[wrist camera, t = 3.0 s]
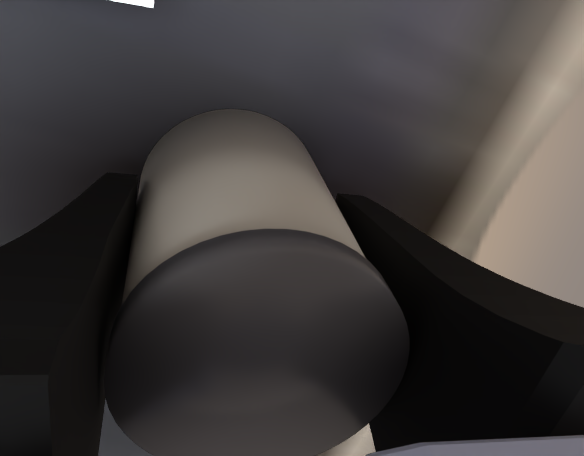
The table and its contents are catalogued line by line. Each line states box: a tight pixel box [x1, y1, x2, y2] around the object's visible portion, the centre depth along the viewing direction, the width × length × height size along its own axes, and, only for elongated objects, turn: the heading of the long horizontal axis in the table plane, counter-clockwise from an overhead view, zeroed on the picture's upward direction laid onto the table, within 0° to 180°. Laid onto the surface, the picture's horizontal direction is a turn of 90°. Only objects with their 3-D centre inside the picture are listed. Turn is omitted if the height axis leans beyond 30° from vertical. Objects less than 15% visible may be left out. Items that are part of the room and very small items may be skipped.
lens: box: [104, 109, 410, 456], centre depth 10 cm, size 5×5×6 cm
